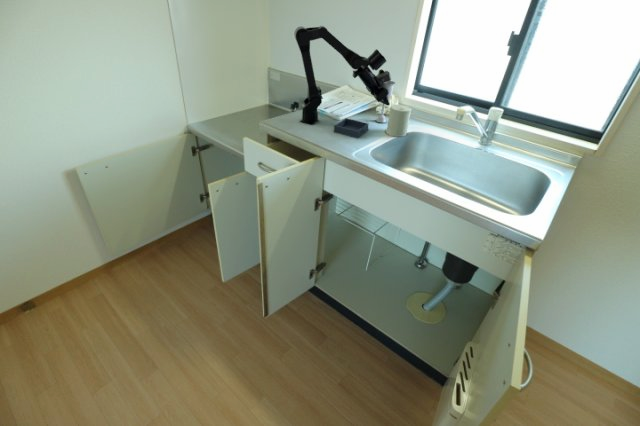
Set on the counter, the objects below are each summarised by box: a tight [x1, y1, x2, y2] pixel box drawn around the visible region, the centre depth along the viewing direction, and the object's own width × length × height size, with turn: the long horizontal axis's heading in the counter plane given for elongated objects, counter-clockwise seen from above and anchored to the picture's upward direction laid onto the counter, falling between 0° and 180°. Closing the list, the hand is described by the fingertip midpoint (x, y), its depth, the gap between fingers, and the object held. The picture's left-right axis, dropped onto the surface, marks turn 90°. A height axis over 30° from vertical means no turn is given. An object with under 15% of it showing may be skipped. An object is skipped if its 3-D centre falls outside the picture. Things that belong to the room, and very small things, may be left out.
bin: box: [333, 117, 370, 139], centre depth 147 cm, size 12×12×3 cm
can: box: [385, 104, 412, 138], centre depth 145 cm, size 9×9×12 cm
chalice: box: [375, 80, 396, 123], centre depth 155 cm, size 7×7×18 cm
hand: (386, 103), depth 155 cm, fingers closed on chalice, 6 cm apart
